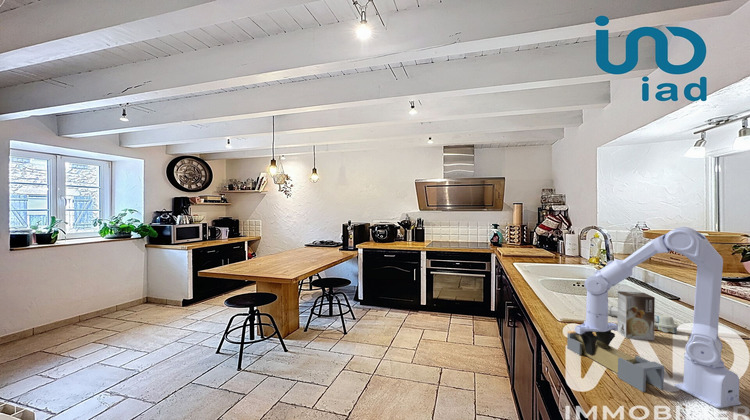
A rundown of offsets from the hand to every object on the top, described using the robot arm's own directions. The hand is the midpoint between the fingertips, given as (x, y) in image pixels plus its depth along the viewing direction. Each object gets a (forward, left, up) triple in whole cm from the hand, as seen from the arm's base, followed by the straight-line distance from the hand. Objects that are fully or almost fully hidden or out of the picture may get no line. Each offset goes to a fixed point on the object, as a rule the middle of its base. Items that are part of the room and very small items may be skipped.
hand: (595, 353), depth 100 cm
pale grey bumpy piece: (+22, -43, -2) cm, 48 cm away
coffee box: (+11, -30, -2) cm, 32 cm away
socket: (+5, 0, -2) cm, 5 cm away
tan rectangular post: (-3, 0, -2) cm, 3 cm away
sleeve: (-14, 0, -2) cm, 14 cm away
